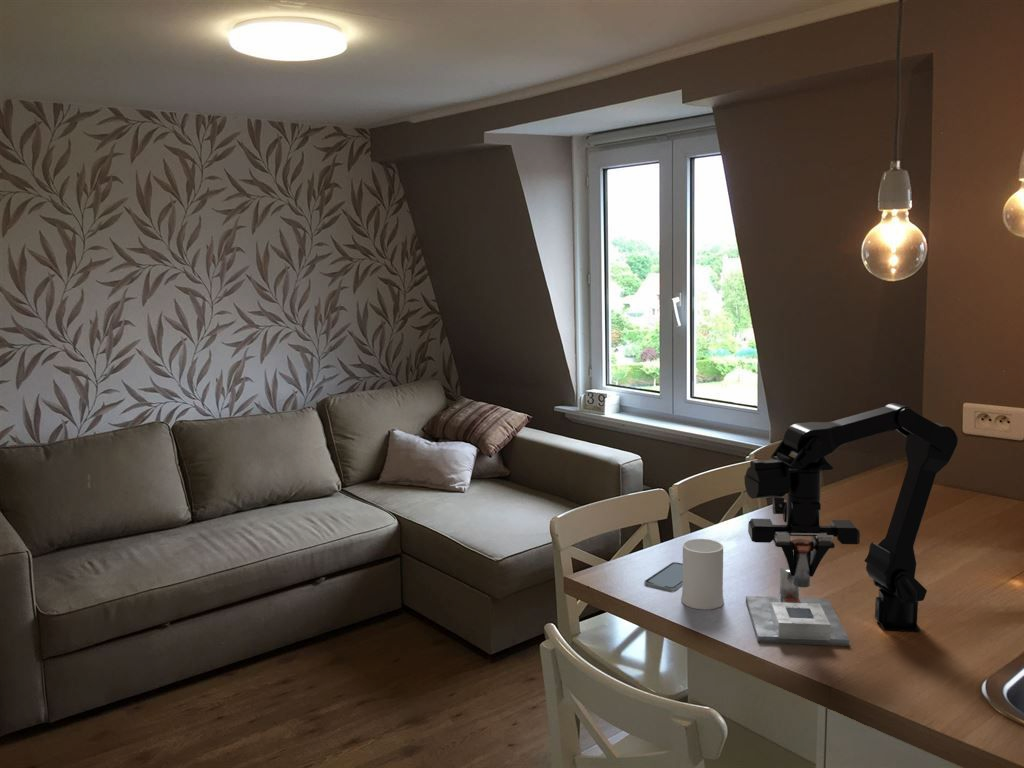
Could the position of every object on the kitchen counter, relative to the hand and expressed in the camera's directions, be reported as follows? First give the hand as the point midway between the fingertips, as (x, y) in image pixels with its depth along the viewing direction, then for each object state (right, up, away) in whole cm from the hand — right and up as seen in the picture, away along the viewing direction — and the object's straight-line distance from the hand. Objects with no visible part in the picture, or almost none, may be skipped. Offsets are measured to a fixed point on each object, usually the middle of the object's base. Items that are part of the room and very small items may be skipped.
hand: (801, 575), depth 156 cm
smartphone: (-18, -8, +31) cm, 36 cm away
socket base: (+1, -11, +7) cm, 13 cm away
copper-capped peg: (0, -2, 0) cm, 2 cm away
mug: (-13, -9, +19) cm, 25 cm away
